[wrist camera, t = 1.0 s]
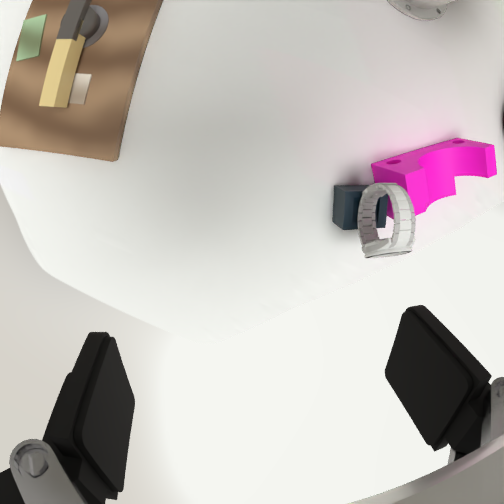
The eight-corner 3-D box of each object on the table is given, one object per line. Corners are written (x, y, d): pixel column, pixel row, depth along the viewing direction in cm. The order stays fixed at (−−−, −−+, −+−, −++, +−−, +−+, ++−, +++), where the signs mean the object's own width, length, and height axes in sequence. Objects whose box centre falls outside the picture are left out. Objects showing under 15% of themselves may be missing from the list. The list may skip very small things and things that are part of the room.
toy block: (380, 211, 37) (413, 231, 30) (370, 163, 34) (404, 174, 28) (461, 179, 37) (497, 192, 30) (455, 137, 34) (494, 145, 27)
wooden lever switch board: (52, -23, 19) (44, -30, 17) (173, -24, 23) (171, -33, 21) (4, 144, 27) (-7, 146, 25) (117, 159, 30) (111, 162, 28)
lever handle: (77, 6, 21) (65, -4, 17) (107, 6, 21) (96, -6, 18) (47, 106, 25) (31, 105, 21) (76, 108, 25) (61, 107, 22)
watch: (331, 237, 37) (373, 279, 27) (334, 170, 34) (383, 191, 24) (371, 234, 38) (421, 272, 28) (377, 171, 35) (433, 191, 25)
